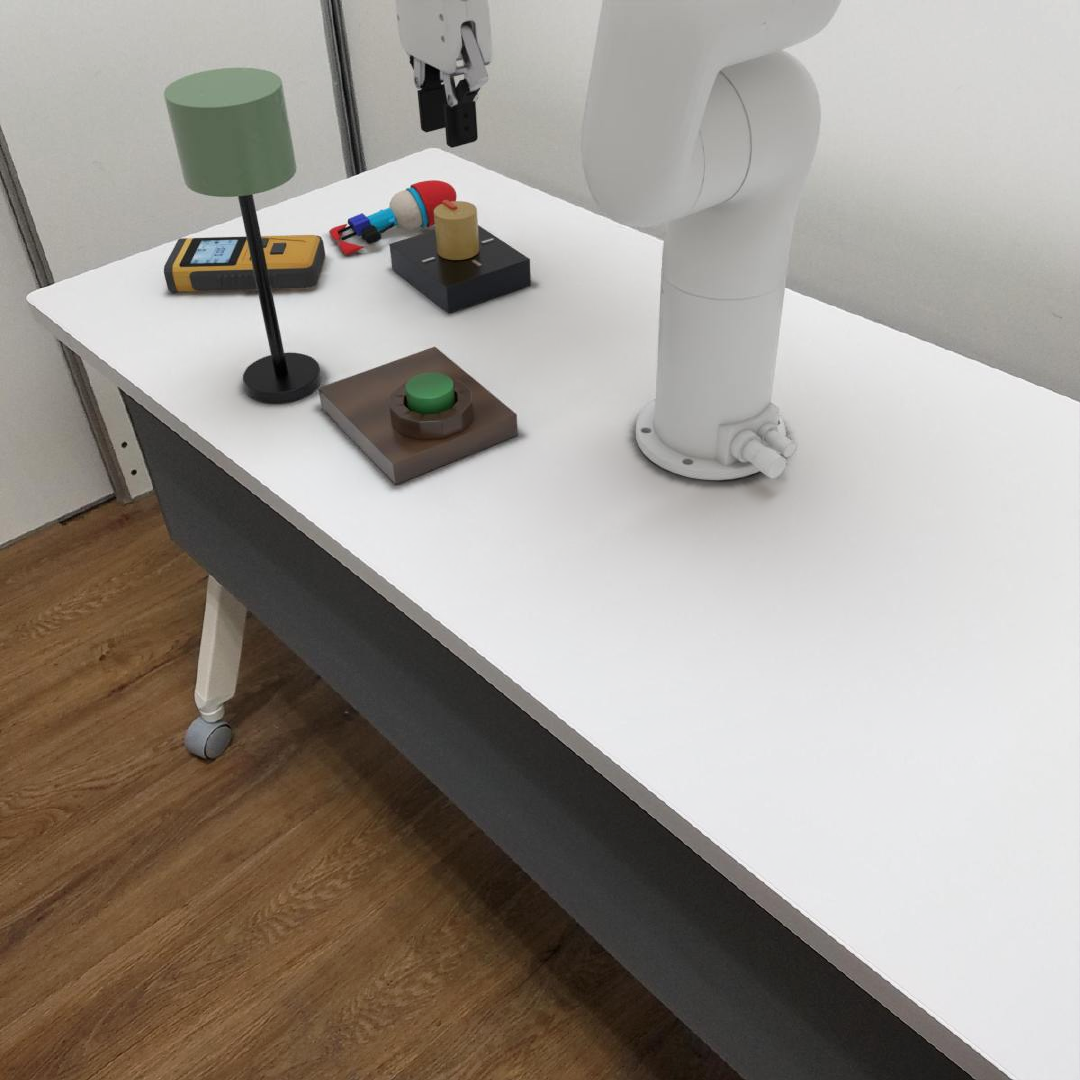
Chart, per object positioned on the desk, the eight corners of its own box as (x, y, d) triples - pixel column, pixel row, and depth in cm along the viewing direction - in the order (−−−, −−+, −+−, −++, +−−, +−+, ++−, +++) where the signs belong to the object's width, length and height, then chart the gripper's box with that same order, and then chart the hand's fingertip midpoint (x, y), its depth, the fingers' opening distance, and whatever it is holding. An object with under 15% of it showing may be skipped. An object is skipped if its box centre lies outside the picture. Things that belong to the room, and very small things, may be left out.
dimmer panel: (531, 285, 119) (530, 257, 117) (448, 313, 114) (446, 285, 112) (471, 244, 126) (469, 217, 124) (392, 269, 122) (388, 242, 120)
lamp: (348, 388, 104) (300, 89, 87) (257, 421, 101) (188, 116, 83) (307, 347, 110) (254, 59, 93) (219, 377, 106) (147, 83, 89)
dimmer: (487, 252, 118) (484, 208, 115) (451, 264, 116) (447, 220, 113) (465, 237, 121) (462, 194, 118) (429, 249, 119) (425, 205, 116)
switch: (463, 405, 95) (462, 387, 94) (422, 421, 94) (420, 403, 92) (439, 384, 98) (438, 367, 97) (398, 400, 96) (396, 382, 95)
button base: (518, 435, 98) (516, 396, 95) (395, 485, 93) (390, 445, 90) (437, 366, 107) (433, 328, 104) (321, 408, 102) (314, 370, 99)
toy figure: (352, 271, 125) (472, 220, 128) (337, 230, 122) (461, 179, 125) (332, 249, 131) (447, 201, 134) (317, 210, 128) (436, 161, 131)
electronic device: (317, 294, 119) (312, 265, 117) (168, 297, 119) (160, 268, 117) (328, 257, 125) (323, 228, 123) (186, 260, 125) (179, 231, 123)
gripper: (521, -62, 95) (528, 153, 107) (422, -95, 106) (439, 103, 118) (444, -47, 92) (460, 172, 104) (350, -83, 103) (375, 120, 114)
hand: (449, 134), depth 110 cm, fingers open, 4 cm apart
